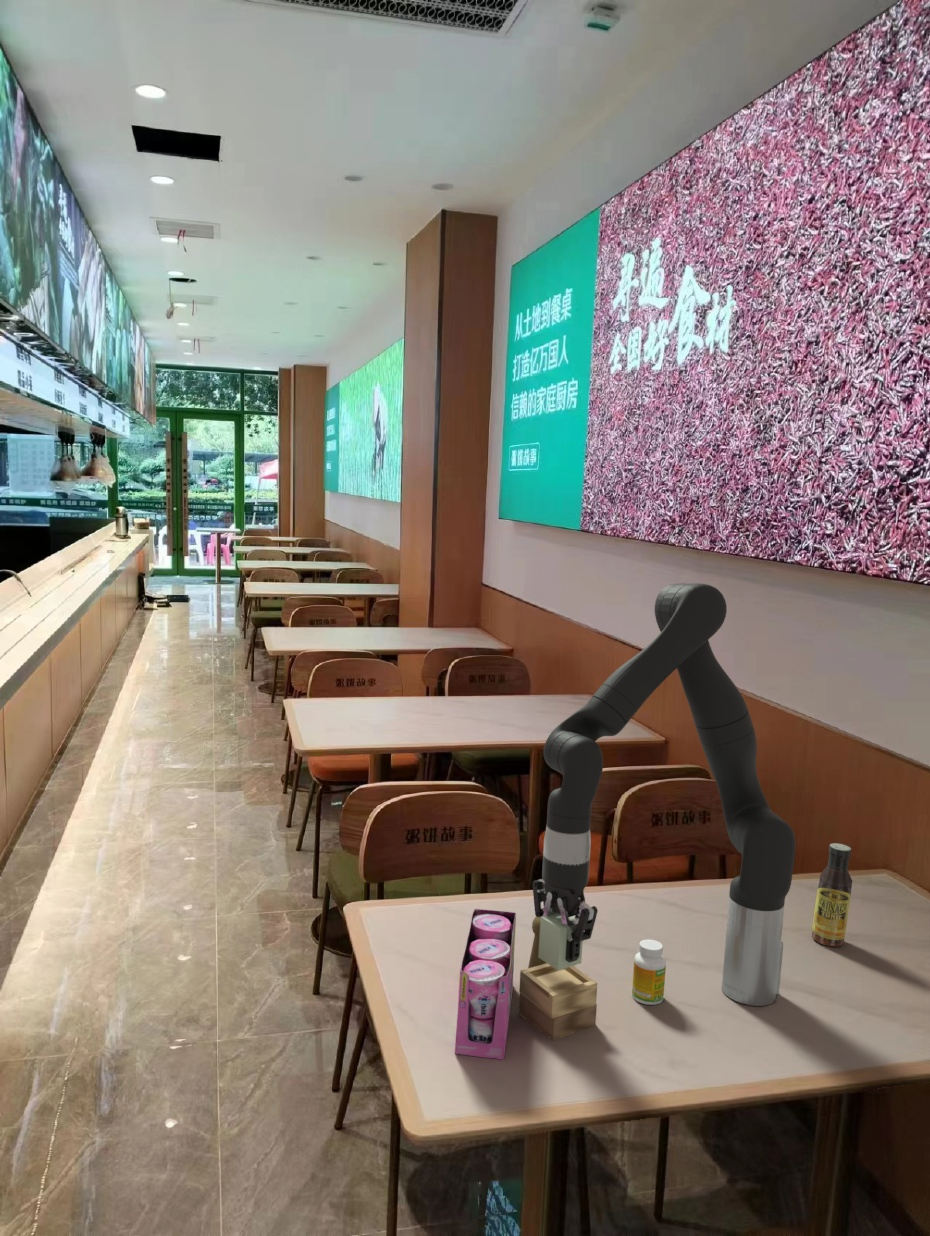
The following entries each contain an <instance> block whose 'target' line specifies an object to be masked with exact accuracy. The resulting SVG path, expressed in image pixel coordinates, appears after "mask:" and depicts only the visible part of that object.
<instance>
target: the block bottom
mask: <svg viewBox="0 0 930 1236" xmlns="http://www.w3.org/2000/svg"><path fill="white" fill-rule="evenodd" d="M597 1005H598V1004H597V1003H596V1005H594V1006H591V1007H588V1008H585V1009H582V1010H578V1011H575V1012H572V1013H569V1014H566V1015H562V1016H559V1017H556V1018H553V1019H551V1018H550V1017H549V1016H548V1015H546V1014H545V1013H544V1012H543V1011H542V1010H540V1009H539V1008H538V1007H537V1006H535V1005H534V1004H533V1003H532V1002H531V1001H529V1000H528V999H527V998H526V997H525V996H523V995H522V994H521V993H520V992H519V996H518V1015H519V1016H521V1018H523V1019H525V1020H526V1021H527V1022H529V1024H531V1025H533V1027H535V1028H536V1029H537V1030H539V1031H540V1032H541V1033H543V1034H544V1035H545V1036H546V1037H548V1038H549V1039H550V1040H551V1041H556V1040H560V1039H562V1038H564V1037H567V1036H570V1035H572V1034H576V1033H578V1032H581V1031H582V1030H587V1029H588V1028H591V1027H594V1026H596V1023H597V1009H598V1008H597V1007H598V1006H597Z"/></svg>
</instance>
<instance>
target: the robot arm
mask: <svg viewBox="0 0 930 1236" xmlns="http://www.w3.org/2000/svg"><path fill="white" fill-rule="evenodd" d="M727 609H728V608H727V602H726V599H725V597H724V595H723V593H722V592H721V591H720V590H719V589H718V588H717V587H715V586H712V585H711V584H706V583H699V582H697V583H694V582H693V583H686V582H685V583H683V582H682V583H672V584H669V585H666V586H664V587H663V588H662V589H661V590H660V591H659V593H658V594H657V596H656V598H655V603H654V616H655V621H656V623H657V627H658V629H659V632H660V633H659V634H658V635H657V636H656V637H655V638H654V640H652V641H651V642H650V643H649V644H648V645H647V646H646V647H644V648H643V649H642V650H640V652H638V653H637V654H635V655H634V656H633V657H632V658H630V659H629V660H627V661H626V662H625V663H623V664H622V665H621V666H619V667H618V668H617V669H616V670H614V672H613V673H611V674H610V675H609V676H608V677H607V678H606V680H605V681H604V682H603V683H602V684H601V686H599V688H597V691H595V693H594V694H593V695H592V696H591V698H590V699H589V700H588V701H587V703H586V704H585V705H583V706H582V707H580V708H579V709H578V710H576V711H575V712H573V713H572V714H571V715H570V716H568V717H567V718H566V719H564V720H563V721H562V722H560V724H559V725H557V726H556V727H555V728H554V729H553V730H552V731H551V732H550V734H549V735H548V737H547V739H546V740H545V743H544V747H543V758H544V759H543V760H544V761H545V763H546V764H547V765H548V766H549V767H550V768H551V769H552V770H554V771H555V772H557V773H560V774H562V784H561V787H559V788H556V789H554V790H552V791H551V792H550V794H549V796H548V801H547V810H546V811H547V812H546V813H547V815H546V825H545V826H546V827H545V832H544V839H543V853H542V854H543V855H542V870H541V877H542V878H541V879H540V878H539V879H537V880H533V881H532V895H533V904H534V905H533V906H534V914H535V917H540V918H541V917H542V916H546V915H547V916H550V915H553V914H558V913H559V914H560V915H561V919H562V924H563V926H565V927H567V943H566V958H565V959H566V961H568V962H573V961H576V960H577V959H578V958H579V956H580V942H581V941H586V940H590V939H592V934H593V930H594V927H595V923H596V920H597V915H598V908H597V906H596V905H594V906H590V905H589V904H588V903H587V902H586V897H585V893H584V890H585V888H586V886H587V885H588V883H589V879H590V878H589V877H590V875H589V874H590V860H591V844H592V843H591V841H592V838H591V822H592V821H591V819H592V804H593V802H594V799H595V796H596V794H597V790H598V787H599V785H600V780H601V777H602V774H603V769H604V756H603V752H602V750H601V749H602V748H601V747H600V746H599V744H598V743H597V742H596V741H598V740H599V739H600V738H603V737H615V736H616V735H618V734H619V733H621V731H623V729H624V728H625V727H626V725H627V724H628V723H629V722H630V721H631V719H633V717H634V716H635V715H636V713H637V712H638V711H639V710H640V708H641V707H642V706H643V705H644V704H645V703H646V701H647V700H648V699H649V698H650V696H651V695H652V694H653V693H654V692H655V691H656V690H657V689H658V687H659V686H660V685H662V683H664V682H665V680H666V679H667V678H668V677H669V676H670V675H671V674H673V672H674V671H676V670H677V672H678V676H679V679H680V683H681V685H682V688H683V691H684V694H685V697H686V701H687V703H688V706H689V709H690V712H691V715H692V719H693V723H694V726H695V729H696V733H697V736H698V738H699V741H700V744H701V747H702V749H703V752H704V755H705V758H706V761H707V764H708V766H709V769H710V771H711V773H712V776H713V779H714V782H715V783H716V786H717V789H718V793H719V797H720V801H721V807H722V811H723V816H724V820H725V821H724V822H725V826H726V831H727V835H728V839H729V840H730V842H731V844H732V845H733V847H734V848H735V850H736V851H737V852H738V853H739V854H741V865H740V872H739V873H740V874H739V875H738V876H735V877H734V878H733V879H732V880H731V882H730V884H729V895H728V904H727V905H728V906H727V907H728V908H727V922H726V932H725V933H726V934H725V943H724V945H725V946H724V954H723V955H724V956H723V968H722V969H723V970H722V980H721V990H722V992H723V993H724V994H725V996H727V997H728V998H730V999H731V1000H733V1001H735V1002H738V1003H740V1004H744V1005H747V1006H752V1007H753V1006H756V1007H762V1006H768V1005H772V1004H773V1003H774V1002H775V1001H776V999H777V995H779V994H780V988H781V987H780V985H781V975H782V965H783V954H784V942H783V941H782V935H783V934H782V933H783V924H784V911H785V901H786V897H787V895H788V894H789V892H790V890H791V885H792V880H793V872H794V866H795V865H794V864H795V857H796V844H797V843H796V836H795V832H794V830H793V829H792V827H791V826H790V825H789V823H788V822H786V821H785V820H784V819H782V818H781V817H780V816H779V815H777V814H776V813H774V811H773V810H772V809H771V807H770V806H769V804H768V800H766V797H765V795H764V792H763V789H762V787H761V784H760V781H759V778H758V772H757V754H758V753H757V752H758V751H757V749H758V747H757V746H758V744H757V735H756V732H755V727H754V725H753V722H752V718H751V715H750V712H749V708H748V705H747V703H746V701H745V699H744V696H743V695H742V693H741V692H740V691H739V688H738V687H737V686H736V685H735V682H733V680H732V679H731V678H730V676H729V675H728V674H727V672H726V671H725V669H724V668H723V667H722V665H721V664H720V663H719V662H718V659H717V658H716V656H715V654H714V652H713V650H712V647H711V645H710V642H709V640H710V639H711V638H712V637H713V636H714V635H715V634H716V633H717V632H718V631H719V630H720V628H721V627H722V626H723V624H724V623H725V620H726V618H727V617H726V616H727V611H728V610H727ZM542 902H543V908H542ZM572 916H574V917H575V918H574V919H570V920H569V918H568V917H572ZM575 924H576V932H573V928H572V926H573V925H575Z"/></svg>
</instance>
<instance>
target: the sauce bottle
mask: <svg viewBox="0 0 930 1236" xmlns="http://www.w3.org/2000/svg"><path fill="white" fill-rule="evenodd" d="M851 854H852V847H850V846H848V845H846V844H843V843H839V842H838V843H836V842H834V843H830V844H829V847H828V862H827V865H826V866H825V868H824V869H823V871H821V873H820V875H819V883H818V886H817V891H816V896H815V897H816V898H815V904H814V912H813V913H814V914H813V920H812V926H811V929H812V931H811V937H812V939H813V940H814V941H815V942H817V943H819V944H821V945H823V946H826V947H835V948H836V947H841V946H842V945H843V944H844V942H845V937H846V932H847V926H848V925H847V924H848V919H849V911H850V906H851V905H850V904H851V897H852V888H853V887H852V886H853V879H852V877H851V875H850V873H849V872H850V871H849V862H850V856H852V855H851Z"/></svg>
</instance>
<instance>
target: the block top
mask: <svg viewBox="0 0 930 1236" xmlns="http://www.w3.org/2000/svg"><path fill="white" fill-rule="evenodd" d="M519 973H520V974H519V989H518V990H519V994H520V993H521V994H522V995H523V996H525V997H526V998H527V999H528V1000H529V1001H531V1002H532V1003H533V1004H534V1005H535V1006H537V1007H538V1008H539V1009H540V1010H542V1011H543V1012H544V1013H545V1014H546V1015H548V1016H549V1017H550V1018H551V1019H553V1018H556V1017H559V1016H562V1015H566V1014H569V1013H572V1012H575V1011H578V1010H582V1009H585V1008H588V1007H591V1006H594V1005H596V1004H597V997H598V995H597V994H598V982H597V981H595V980H594V979H593V978H592V977H590V976H589V975H587V974H586V973H584V972H583V971H582V970H580V969H579V968H578V967H576V965H574V966H571V967H568V968H565V969H561V970H556V969H555V968H553V967H552V966H550V965H549V964H547V963H546V964H543V965H539V966H535V967H532V968H528V967H527V968H525V969H520V972H519Z"/></svg>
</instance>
